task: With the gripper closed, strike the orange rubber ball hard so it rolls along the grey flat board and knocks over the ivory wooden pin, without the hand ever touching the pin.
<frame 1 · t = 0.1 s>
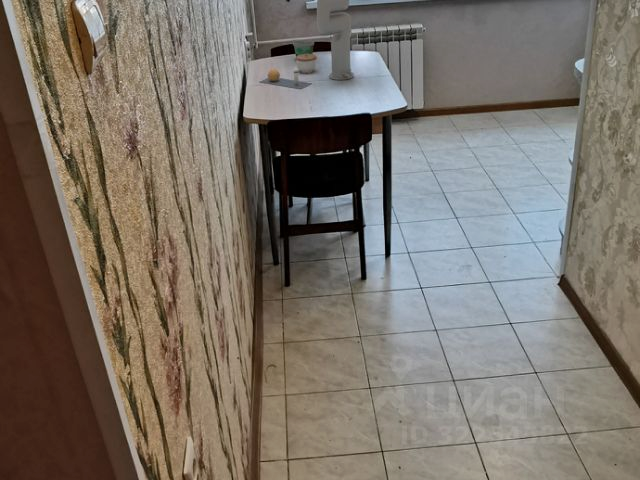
hand: (295, 0, 358), 31 cm above the table, tool pointing down, fingers open, 9 cm apart
grey flat board: (285, 82, 335), on the table
ball: (273, 75, 336), on the table
lidded jar: (307, 71, 351), on the table
food container: (302, 60, 371), on the table
pin: (296, 84, 331), on the table
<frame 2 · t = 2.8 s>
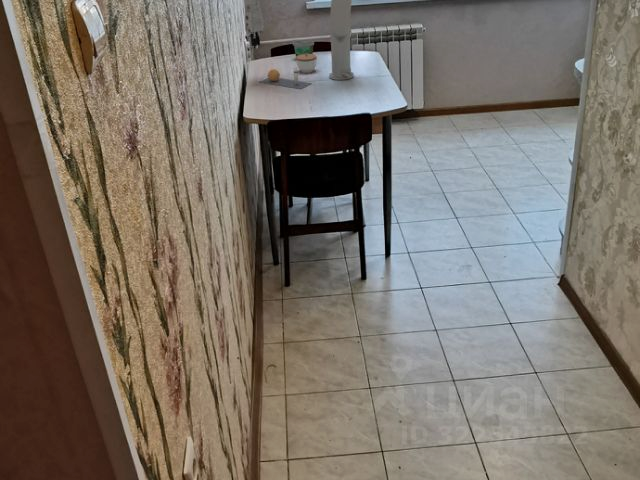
hand: (255, 45, 334), 17 cm above the table, tool pointing down, fingers closed
nothing on the table moved.
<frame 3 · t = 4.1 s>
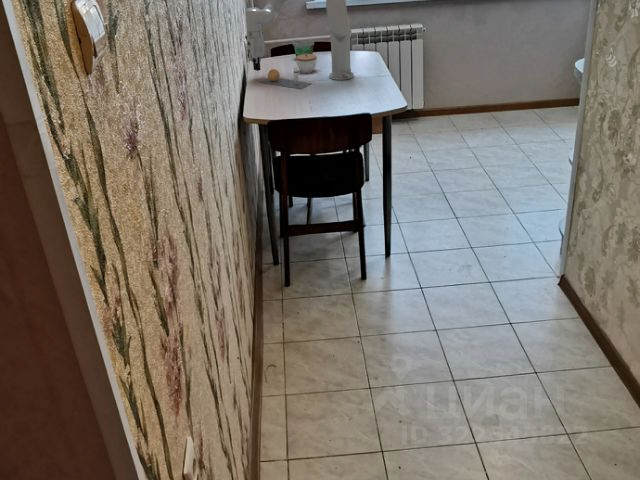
hand: (257, 70, 341), 4 cm above the table, tool pointing down, fingers closed
nothing on the table moved.
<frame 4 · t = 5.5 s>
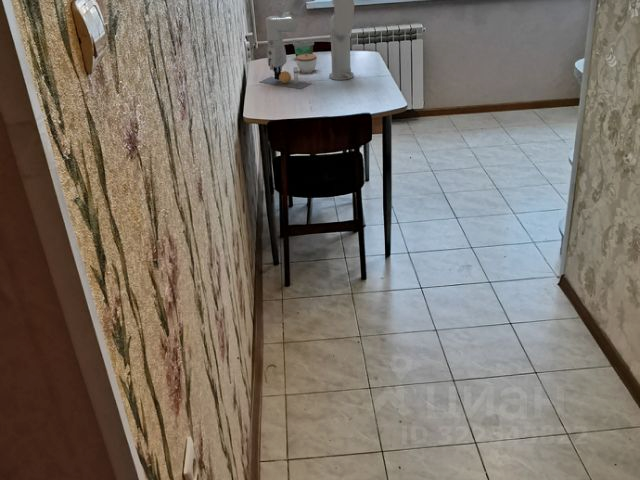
hand: (278, 79, 336), 1 cm above the table, tool pointing down, fingers closed
ball: (285, 77, 332), on the table
everything else where it was.
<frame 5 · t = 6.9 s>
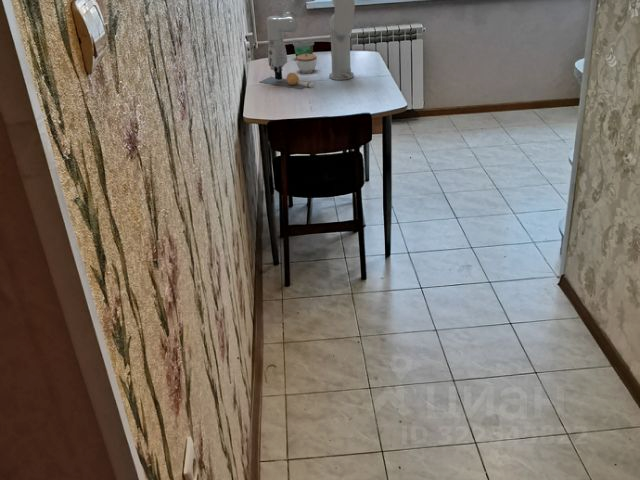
hand: (278, 78, 336), 1 cm above the table, tool pointing down, fingers closed
ball: (292, 79, 329), on the table, touching pin
pin: (298, 83, 330), point 1 cm above the table, tilted 90°, touching ball
everything else where it was.
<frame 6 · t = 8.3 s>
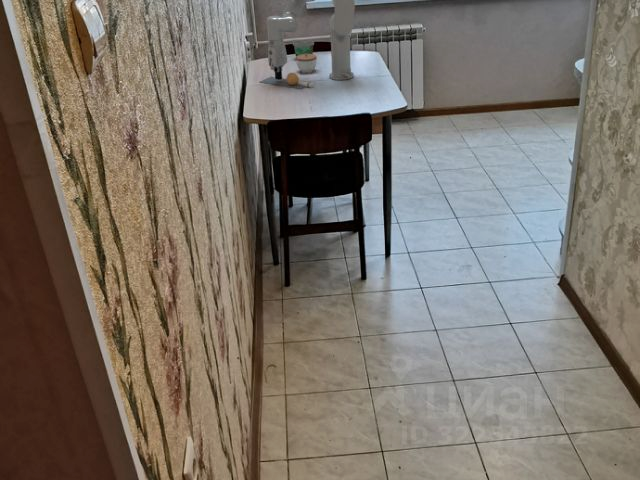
hand: (278, 78, 336), 1 cm above the table, tool pointing down, fingers closed
nothing on the table moved.
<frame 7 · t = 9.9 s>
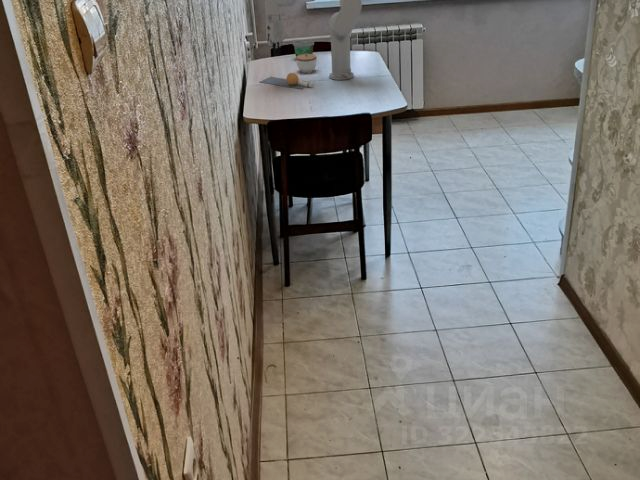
hand: (277, 55, 330), 13 cm above the table, tool pointing down, fingers closed
nothing on the table moved.
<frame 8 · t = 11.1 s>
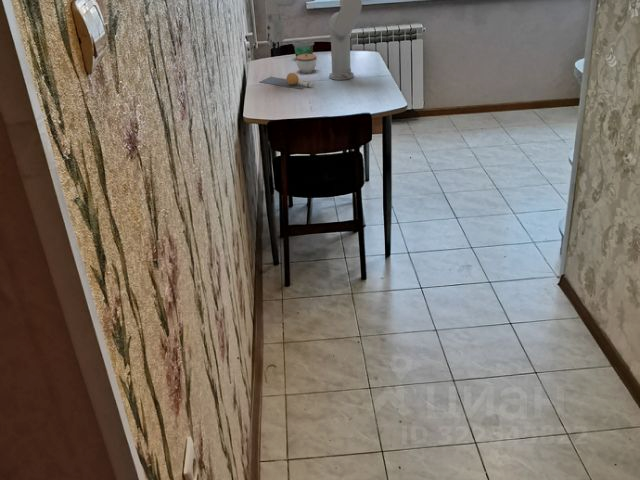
hand: (276, 55, 330), 13 cm above the table, tool pointing down, fingers closed
nothing on the table moved.
at the end: pin tilted 90°; pin never touched the robot; ball moved 12.5 cm from its start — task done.
